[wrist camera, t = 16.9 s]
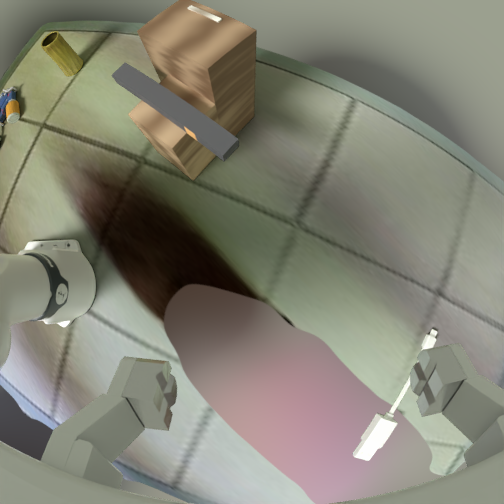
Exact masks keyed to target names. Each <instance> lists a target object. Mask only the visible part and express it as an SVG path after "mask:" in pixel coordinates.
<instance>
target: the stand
mask: <svg viewBox="0 0 504 504" xmlns="http://www.w3.org/2000/svg"><path fill="white" fill-rule="evenodd" d="M137 32H138V34H139V36H140V38H141V40H142V42H143V45H144V47H145V49H146V51H147V53H148V55H149V57H150V59H151V61H152V64H153V66H154V68H155V70H156V72H157V74H158V76H159V78H160V80H161V82H160V83H159V84H160V85H162V86H163V87H165V88H166V89H168V90H170V91H171V92H173V93H174V94H176V95H177V96H179V97H180V98H181V99H183V100H184V101H186V102H187V103H189V104H190V105H192V106H193V107H195V108H196V109H197V110H199V111H201V112H202V113H203V114H205V115H206V116H208V117H209V118H210V119H212V120H213V121H214V122H216V123H217V124H219V125H220V126H221V127H223V128H224V129H225V130H227V131H228V132H230V133H231V134H232V135H234V136H235V135H236V134H237V133H238V132H239V131H240V130H241V129H242V128H243V127H244V126H245V125H246V124H247V123H248V122H249V121H250V120H251V119H252V118H253V117H254V106H255V67H256V30H255V29H253V28H251V27H249V26H247V25H245V24H243V23H241V22H239V21H237V20H235V19H233V18H231V17H229V16H227V15H224V14H222V13H220V12H218V11H216V10H213V9H211V8H209V7H206V6H203V5H201V4H199V3H196V2H194V1H191V0H179V1H177V2H176V3H174V4H173V5H171V6H170V7H168V8H167V9H166V10H164V11H163V12H161V13H160V14H159V15H157V16H156V17H155V18H153V19H152V20H151V21H149V22H148V23H147V24H145V25H144V26H143V27H142V28H140V29H139V30H138V31H137ZM128 115H129V116H130V118H131V119H132V120H133V121H134V123H135V124H136V125H137V126H138V128H139V129H140V130H141V131H142V133H143V134H144V135H145V136H146V138H147V139H148V140H149V141H150V143H151V144H152V145H153V146H154V148H155V149H156V150H157V151H158V153H160V154H161V155H162V156H163V157H165V158H166V159H167V160H168V161H170V162H171V163H172V164H173V165H175V166H176V167H177V168H178V169H179V170H181V171H182V172H183V173H184V174H186V175H187V176H188V177H189V178H190V179H192V180H193V181H194V180H195V179H196V177H197V176H198V175H199V174H200V173H201V172H202V171H203V170H204V169H205V167H206V166H207V165H208V164H209V163H210V162H211V161H212V160H213V159H214V158H215V157H216V155H215V154H214V153H213V152H211V151H210V150H209V149H207V148H206V147H205V146H203V145H202V144H201V143H199V142H198V141H197V140H195V139H194V138H193V137H191V136H190V135H189V134H187V133H186V132H185V131H184V130H182V129H181V128H180V127H178V126H177V125H175V124H174V123H173V122H171V121H170V120H169V119H167V118H166V117H165V116H163V115H162V114H160V113H159V112H158V111H156V110H155V109H154V108H152V107H151V106H149V105H148V104H147V103H145V102H144V101H141V102H140V103H139V104H138V105H137V106H136V107H135V108H134V109H133V110H132V111H131V112H130V113H129V114H128Z"/></svg>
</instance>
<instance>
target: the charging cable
mask: <svg viewBox="0 0 504 504" xmlns="http://www.w3.org/2000/svg"><path fill="white" fill-rule="evenodd" d="M436 334H437V331H435V330H433V329H432V330H431V332H430V334H429V335H427V334H426V336H425V338H424V341H423V343H422V345H421V346H422V349H421V351H422V350H423V349H429V348H433V346H434V344H435V342H436V340H437V339H435V337H436ZM418 362H419V360H418V361H417V363H418ZM409 385H410V376H409V378H408V380H407V382H406V384H405V386H404V387H403V389H402V391H401V393H400V394H399V396H398V398H397V400H396V401H395V403H394V405H393V406H392V408H391V410H390V411H389V413H388V412H386V414H385V415H382V414H379V413H377V414H376V415H375V417H374V418H373V420H372V422H371V423H370V425H369V426H368V428H367V429H366V431H365V432H364V434H363V435H362V437H361V439H362V441H361V442H360V444H359V445H358V447H357V448H356V449H355V451H354V452H353V456H354V457H356V458H360V459H363V460H367V461H369V460H370V459H371V457H372V456H373V454H374V453H375V452H376V450H377V449H378V448H382V446H383V445H384V443H385V442H386V440H387V439H388V438H389V436H390V435H391V433H392V432H393V430H394V429H395V427H396V426H397V424H398V423H397V422H396V421H395V420H394V419H393V416H394V415H393V413H394V411H395V409H396V408H397V406H398V405H399V403H400V401H401V399H402V398H403V396H404V394H405V393H406V391H407V389H408V387H409Z"/></svg>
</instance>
